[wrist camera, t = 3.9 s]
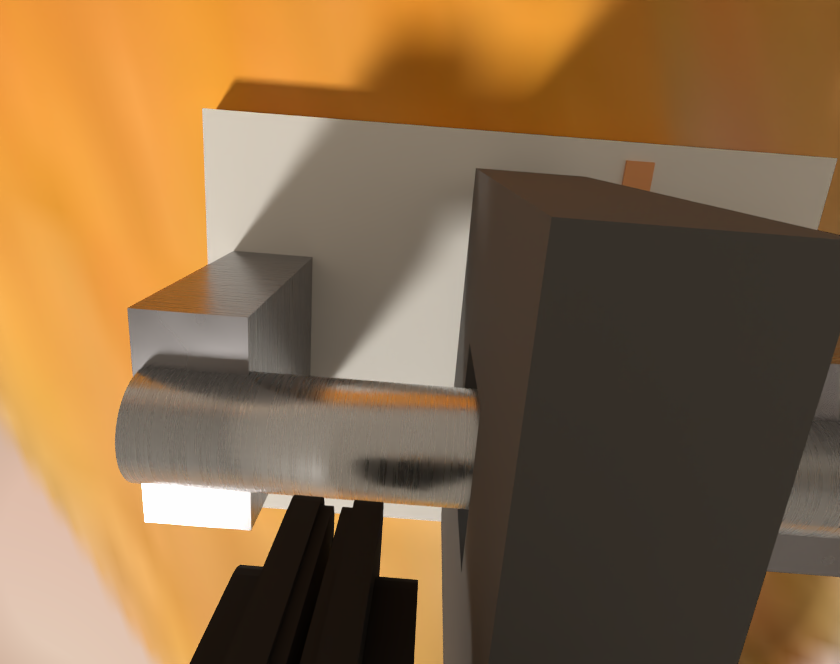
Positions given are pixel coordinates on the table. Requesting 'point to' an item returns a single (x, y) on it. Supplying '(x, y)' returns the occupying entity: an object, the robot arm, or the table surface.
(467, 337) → the collar
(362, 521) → the robot arm
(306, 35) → the table surface
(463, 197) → the base board
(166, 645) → the table surface
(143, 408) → the pipe
